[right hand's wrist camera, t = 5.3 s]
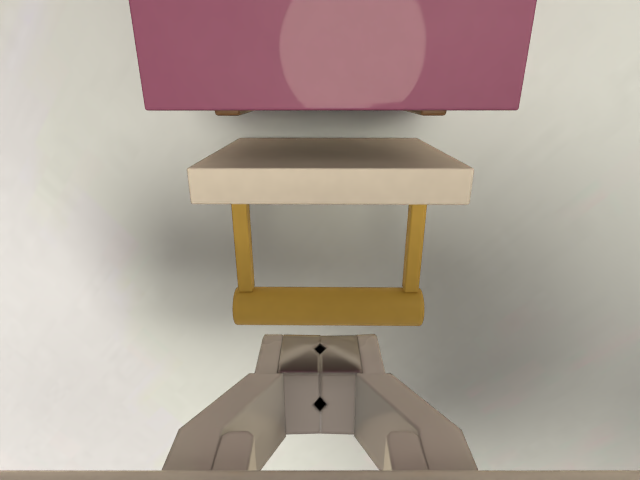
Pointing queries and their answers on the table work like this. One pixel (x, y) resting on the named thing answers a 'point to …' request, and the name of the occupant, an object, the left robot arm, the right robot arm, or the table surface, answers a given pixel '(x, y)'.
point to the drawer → (329, 188)
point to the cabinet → (332, 54)
